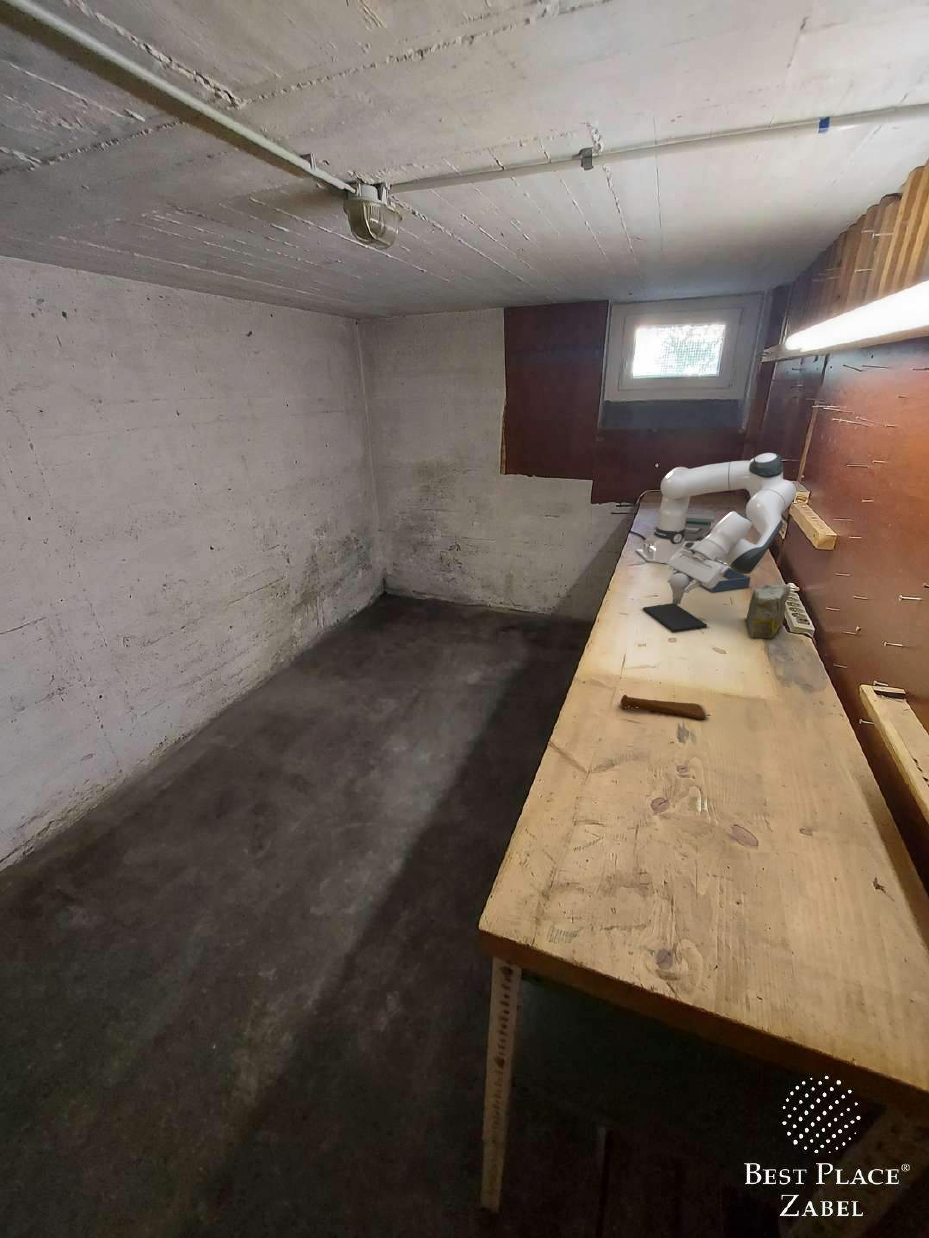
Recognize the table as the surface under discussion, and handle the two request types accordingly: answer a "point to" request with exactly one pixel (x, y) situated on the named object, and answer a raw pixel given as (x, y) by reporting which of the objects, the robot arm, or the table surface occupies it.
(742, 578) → the blue square tray
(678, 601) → the lightbulb
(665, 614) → the mat
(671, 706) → the primitive tool
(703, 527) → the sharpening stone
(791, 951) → the table surface
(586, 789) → the table surface
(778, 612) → the stone block
